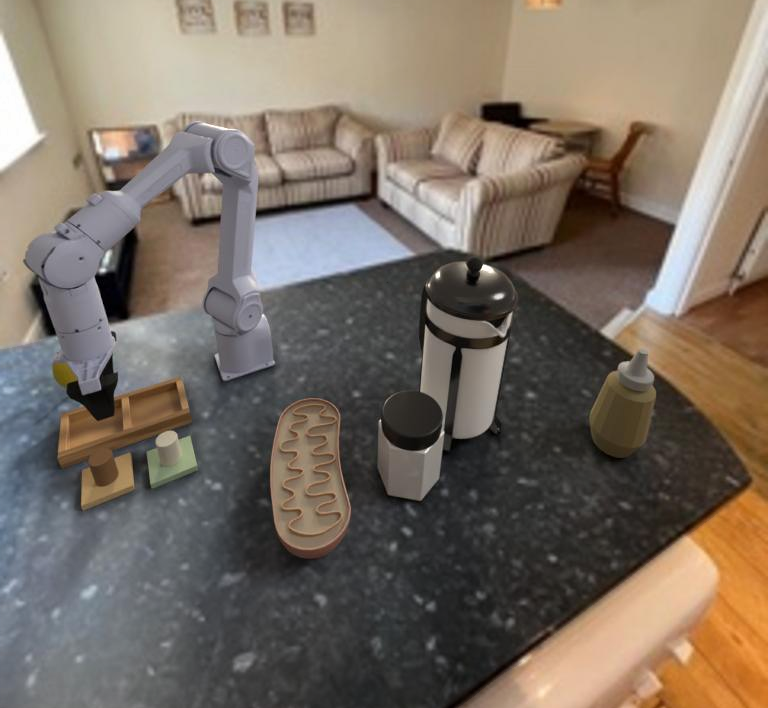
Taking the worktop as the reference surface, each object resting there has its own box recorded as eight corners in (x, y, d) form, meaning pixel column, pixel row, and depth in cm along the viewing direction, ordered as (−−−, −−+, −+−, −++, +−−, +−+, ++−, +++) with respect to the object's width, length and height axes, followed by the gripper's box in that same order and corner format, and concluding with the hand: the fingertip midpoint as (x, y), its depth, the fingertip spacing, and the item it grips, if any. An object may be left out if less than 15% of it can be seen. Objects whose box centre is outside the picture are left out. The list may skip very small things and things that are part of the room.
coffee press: (510, 399, 78) (540, 244, 65) (489, 473, 65) (522, 297, 52) (417, 368, 84) (428, 222, 72) (381, 430, 71) (386, 264, 58)
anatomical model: (355, 568, 53) (355, 542, 51) (268, 584, 51) (265, 557, 49) (338, 417, 73) (337, 394, 71) (276, 425, 71) (273, 401, 69)
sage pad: (191, 439, 68) (185, 415, 66) (198, 470, 64) (192, 445, 62) (147, 456, 66) (140, 431, 64) (151, 489, 61) (144, 464, 59)
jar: (404, 438, 70) (408, 379, 65) (448, 469, 65) (456, 408, 60) (365, 477, 63) (366, 415, 58) (411, 514, 59) (416, 450, 54)
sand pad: (131, 456, 66) (124, 432, 63) (134, 490, 61) (126, 464, 59) (83, 474, 63) (74, 449, 61) (82, 510, 58) (72, 485, 56)
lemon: (80, 400, 75) (67, 363, 71) (52, 395, 76) (37, 358, 72) (105, 378, 80) (93, 342, 76) (78, 373, 81) (66, 337, 77)
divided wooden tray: (65, 424, 70) (61, 413, 70) (183, 386, 79) (181, 375, 78) (61, 469, 63) (57, 458, 62) (192, 422, 71) (189, 411, 70)
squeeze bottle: (635, 430, 72) (669, 340, 65) (644, 472, 66) (683, 377, 58) (582, 416, 75) (608, 328, 67) (585, 455, 68) (615, 362, 60)
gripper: (48, 300, 62) (74, 376, 68) (36, 363, 51) (69, 447, 57) (107, 288, 65) (127, 361, 71) (108, 344, 54) (132, 426, 60)
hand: (105, 398), depth 64 cm, fingers open, 7 cm apart
